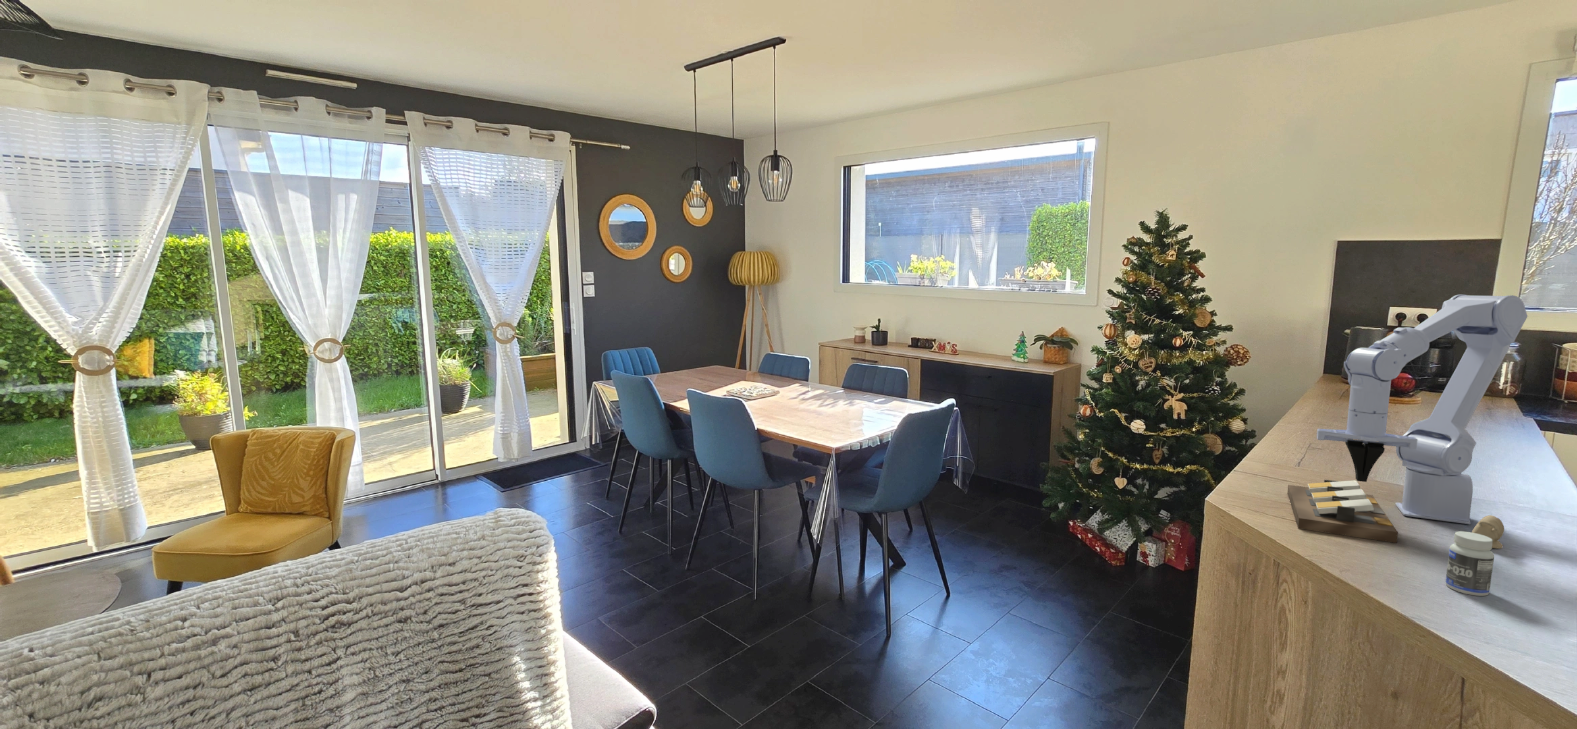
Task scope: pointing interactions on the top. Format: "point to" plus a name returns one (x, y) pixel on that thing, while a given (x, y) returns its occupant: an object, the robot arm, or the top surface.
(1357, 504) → the rocker near
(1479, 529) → the decorative ornament
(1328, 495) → the rocker middle
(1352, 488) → the block
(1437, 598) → the top surface
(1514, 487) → the top surface
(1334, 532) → the switch panel
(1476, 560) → the pill bottle
